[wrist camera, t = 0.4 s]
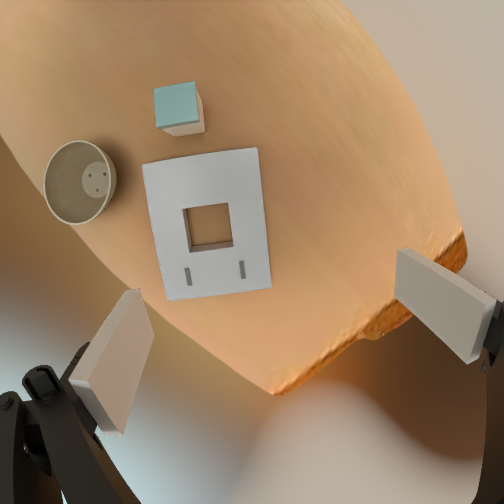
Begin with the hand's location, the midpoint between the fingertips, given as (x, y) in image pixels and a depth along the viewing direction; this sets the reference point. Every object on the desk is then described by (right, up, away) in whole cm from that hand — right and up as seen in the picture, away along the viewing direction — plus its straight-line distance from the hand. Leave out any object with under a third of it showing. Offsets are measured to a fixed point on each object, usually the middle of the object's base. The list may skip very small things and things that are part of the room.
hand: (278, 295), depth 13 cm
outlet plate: (-7, +6, +24) cm, 25 cm away
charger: (-9, +19, +20) cm, 29 cm away
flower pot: (-22, +12, +21) cm, 33 cm away
